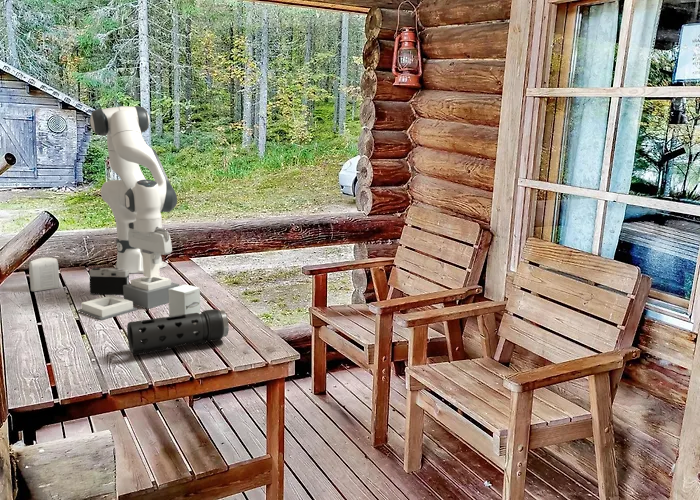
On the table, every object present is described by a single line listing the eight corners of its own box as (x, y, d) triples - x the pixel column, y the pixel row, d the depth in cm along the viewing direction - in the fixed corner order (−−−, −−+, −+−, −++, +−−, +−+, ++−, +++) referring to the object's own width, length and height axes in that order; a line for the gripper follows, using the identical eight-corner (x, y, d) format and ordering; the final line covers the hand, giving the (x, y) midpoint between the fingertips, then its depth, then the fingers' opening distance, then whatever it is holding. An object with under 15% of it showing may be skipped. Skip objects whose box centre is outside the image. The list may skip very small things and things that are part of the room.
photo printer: (57, 285, 233) (55, 255, 231) (61, 288, 230) (59, 257, 228) (29, 290, 226) (26, 258, 224) (32, 292, 223) (30, 261, 221)
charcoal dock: (155, 292, 229) (154, 272, 227) (179, 299, 221) (178, 279, 219) (123, 301, 217) (122, 280, 216) (148, 308, 210) (147, 287, 208)
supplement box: (184, 329, 191) (183, 292, 188) (168, 325, 195) (167, 288, 192) (201, 323, 198) (200, 287, 195) (185, 319, 201) (184, 283, 198)
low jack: (113, 301, 216) (112, 293, 215) (137, 309, 208) (136, 301, 208) (77, 311, 205) (76, 303, 204) (101, 320, 197) (101, 311, 196)
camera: (134, 289, 232) (133, 265, 229) (124, 296, 223) (123, 271, 220) (100, 288, 232) (98, 263, 230) (88, 294, 223) (87, 269, 221)
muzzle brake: (128, 350, 174) (126, 317, 172) (219, 335, 188) (219, 304, 186) (134, 362, 166) (132, 327, 164) (230, 345, 180) (229, 313, 178)
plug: (152, 273, 220) (151, 247, 218) (159, 275, 218) (158, 249, 216) (143, 275, 217) (142, 249, 215) (150, 277, 215) (149, 251, 212)
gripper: (175, 228, 210) (176, 265, 213) (138, 220, 221) (140, 256, 224) (160, 230, 205) (162, 269, 208) (124, 223, 216) (126, 259, 219)
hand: (151, 262), depth 216 cm, fingers closed on plug, 4 cm apart
